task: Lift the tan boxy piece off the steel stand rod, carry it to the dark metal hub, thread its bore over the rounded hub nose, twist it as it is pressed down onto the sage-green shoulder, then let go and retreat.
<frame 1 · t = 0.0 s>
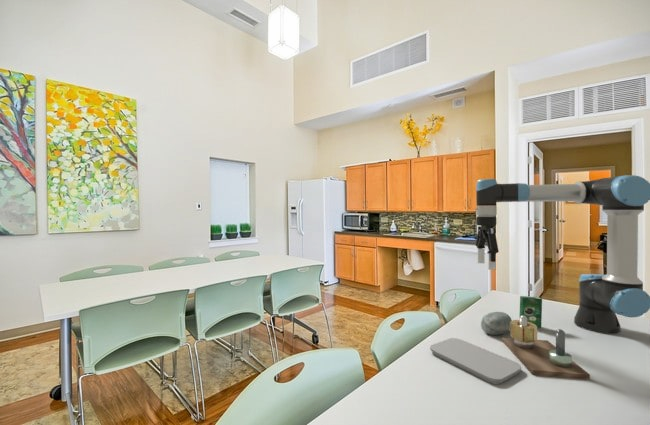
hand: (486, 266, 128), 28 cm above the table, fingers open, 13 cm apart
tan boxy piece: (523, 337, 113), point 4 cm above the table, touching stand rod
stand rod: (523, 349, 113), resting on walnut plate
walnut plate: (540, 358, 107), on the table
hub: (560, 367, 100), resting on walnut plate
coffee box: (530, 326, 134), on the table
tablet: (472, 362, 105), on the table
grey oval piece: (496, 332, 129), on the table
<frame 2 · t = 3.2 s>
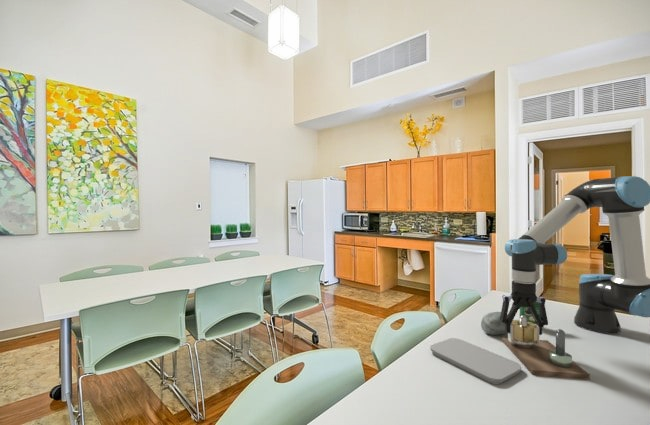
hand: (523, 342, 113), 3 cm above the table, fingers closed on tan boxy piece, 8 cm apart
tan boxy piece: (523, 337, 113), point 5 cm above the table, touching gripper, stand rod
everything else where it was.
when the fingers open (3 cm above the table, at t = 9.8 s): tan boxy piece stays where it is, resting on hub.
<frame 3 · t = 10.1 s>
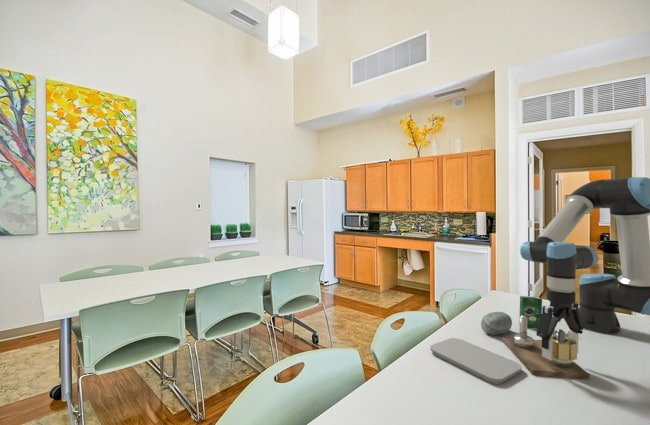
hand: (560, 354, 100), 4 cm above the table, fingers open, 12 cm apart
tan boxy piece: (560, 354, 100), point 4 cm above the table, touching hub
everything else where it was.
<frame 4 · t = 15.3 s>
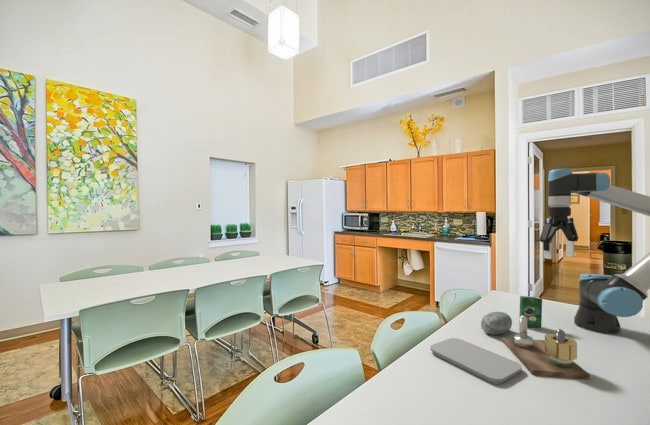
hand: (559, 257, 126), 32 cm above the table, fingers open, 13 cm apart
nothing on the table moved.
at the end: tan boxy piece 0.0 cm off-centre on the hub, point 4.5 cm above the hub's base; tan boxy piece tilted 0°; the gripper is holding nothing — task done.
